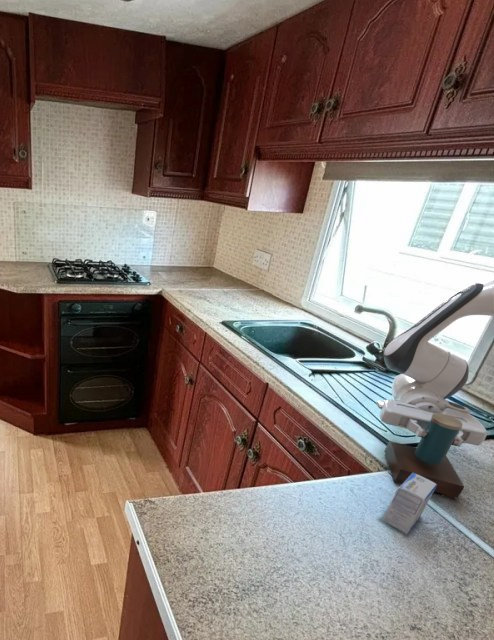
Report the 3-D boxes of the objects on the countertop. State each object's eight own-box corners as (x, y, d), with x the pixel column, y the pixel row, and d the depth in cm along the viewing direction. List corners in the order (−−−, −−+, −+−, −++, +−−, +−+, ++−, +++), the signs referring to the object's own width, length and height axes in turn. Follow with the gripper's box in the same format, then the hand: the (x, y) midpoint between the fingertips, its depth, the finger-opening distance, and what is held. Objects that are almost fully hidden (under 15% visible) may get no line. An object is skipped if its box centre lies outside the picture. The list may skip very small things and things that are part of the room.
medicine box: (406, 535, 76) (425, 500, 73) (381, 520, 79) (398, 486, 76) (419, 517, 81) (438, 484, 77) (395, 503, 84) (412, 471, 80)
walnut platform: (438, 468, 97) (446, 455, 95) (456, 501, 87) (464, 486, 85) (383, 453, 100) (389, 440, 99) (393, 483, 90) (400, 469, 88)
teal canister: (438, 454, 93) (457, 417, 88) (445, 467, 88) (466, 429, 84) (411, 447, 94) (429, 410, 90) (417, 460, 90) (436, 422, 85)
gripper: (380, 388, 101) (391, 414, 90) (476, 409, 95) (502, 440, 84) (371, 410, 104) (381, 437, 92) (464, 431, 98) (488, 464, 86)
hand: (440, 439), depth 88 cm, fingers closed on teal canister, 5 cm apart
